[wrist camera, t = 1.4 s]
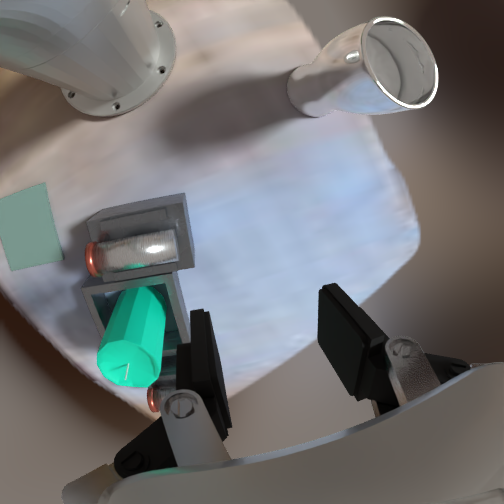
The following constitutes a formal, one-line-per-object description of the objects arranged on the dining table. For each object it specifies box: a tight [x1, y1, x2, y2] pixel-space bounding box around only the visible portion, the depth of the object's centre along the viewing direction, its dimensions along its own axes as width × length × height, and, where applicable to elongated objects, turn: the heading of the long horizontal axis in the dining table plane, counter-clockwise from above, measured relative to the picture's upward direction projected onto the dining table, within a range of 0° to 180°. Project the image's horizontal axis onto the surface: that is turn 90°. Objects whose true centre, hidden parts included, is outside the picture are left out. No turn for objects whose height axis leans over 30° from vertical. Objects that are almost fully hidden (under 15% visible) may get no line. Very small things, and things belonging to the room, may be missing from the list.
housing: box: [81, 193, 195, 389], centre depth 29 cm, size 24×13×6 cm, turn 6°
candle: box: [97, 286, 167, 388], centre depth 26 cm, size 6×6×12 cm
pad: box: [0, 183, 64, 271], centre depth 25 cm, size 9×9×1 cm
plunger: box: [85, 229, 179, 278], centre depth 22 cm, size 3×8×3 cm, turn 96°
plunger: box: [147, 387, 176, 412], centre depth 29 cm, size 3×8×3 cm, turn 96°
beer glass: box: [287, 16, 438, 117], centre depth 19 cm, size 7×7×15 cm
